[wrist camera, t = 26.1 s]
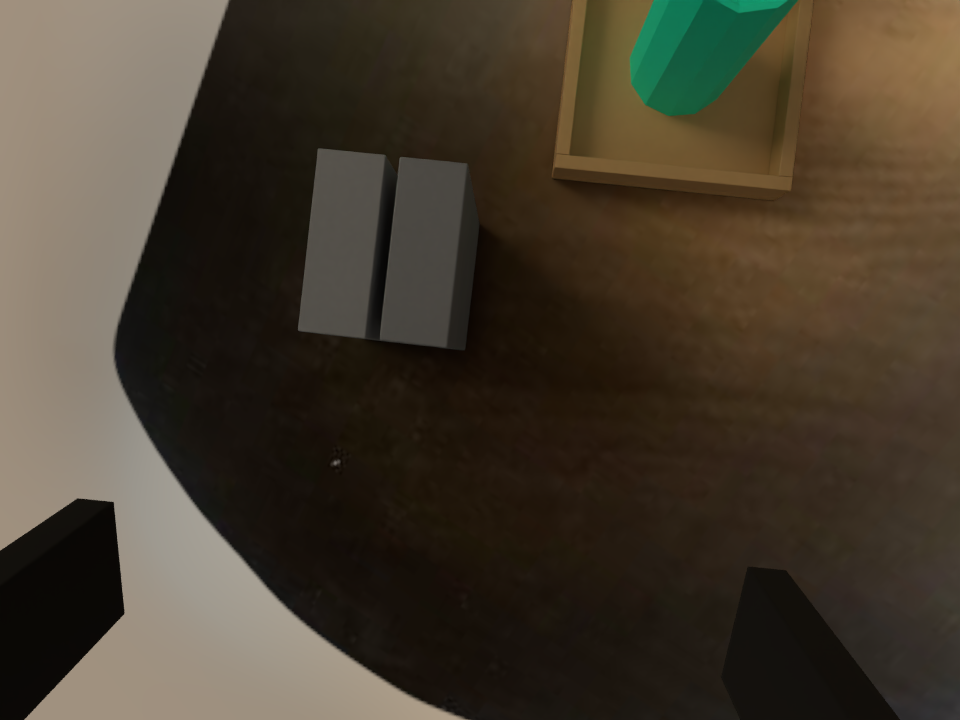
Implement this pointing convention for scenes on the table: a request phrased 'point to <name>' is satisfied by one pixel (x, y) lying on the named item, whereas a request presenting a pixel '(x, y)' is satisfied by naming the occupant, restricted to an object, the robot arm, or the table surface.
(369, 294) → the grey book
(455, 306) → the grey book
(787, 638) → the robot arm
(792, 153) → the tray
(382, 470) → the table surface
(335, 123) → the table surface
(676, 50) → the candle
